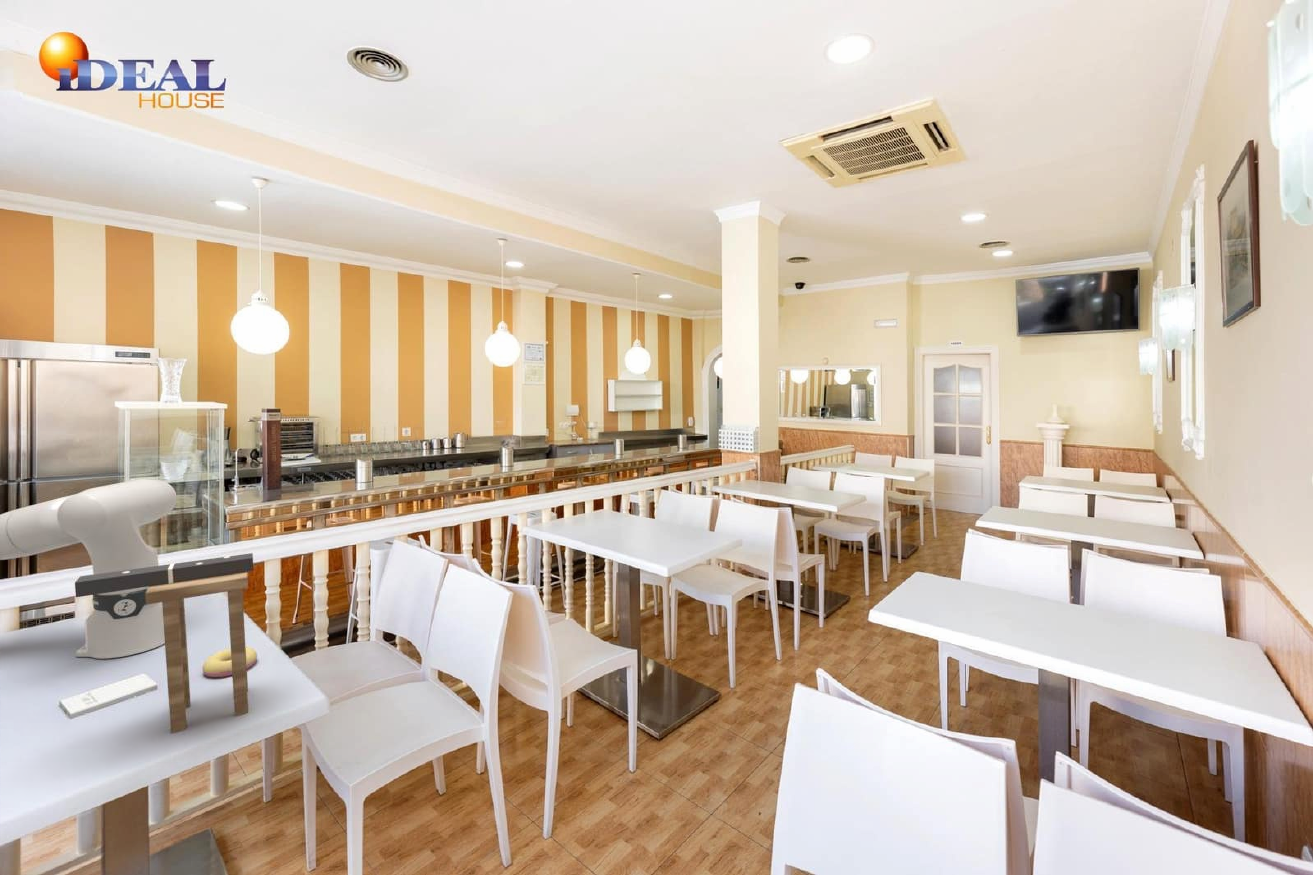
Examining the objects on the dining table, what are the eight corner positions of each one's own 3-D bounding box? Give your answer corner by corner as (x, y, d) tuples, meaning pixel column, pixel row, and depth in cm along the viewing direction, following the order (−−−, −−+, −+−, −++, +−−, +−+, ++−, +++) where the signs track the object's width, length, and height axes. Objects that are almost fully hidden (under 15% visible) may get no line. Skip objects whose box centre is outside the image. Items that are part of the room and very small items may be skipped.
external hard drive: (157, 691, 113) (70, 721, 103) (144, 680, 118) (59, 707, 107) (157, 683, 113) (70, 712, 103) (143, 672, 118) (58, 699, 107)
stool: (163, 707, 107) (154, 574, 105) (253, 685, 115) (247, 561, 113) (155, 739, 97) (145, 593, 95) (254, 712, 105) (247, 577, 103)
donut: (262, 666, 128) (216, 664, 126) (266, 645, 128) (220, 643, 126) (241, 681, 118) (190, 679, 116) (245, 658, 119) (195, 656, 116)
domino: (81, 590, 96) (80, 575, 96) (253, 565, 110) (252, 552, 110) (75, 597, 93) (74, 582, 93) (253, 571, 107) (252, 557, 107)
